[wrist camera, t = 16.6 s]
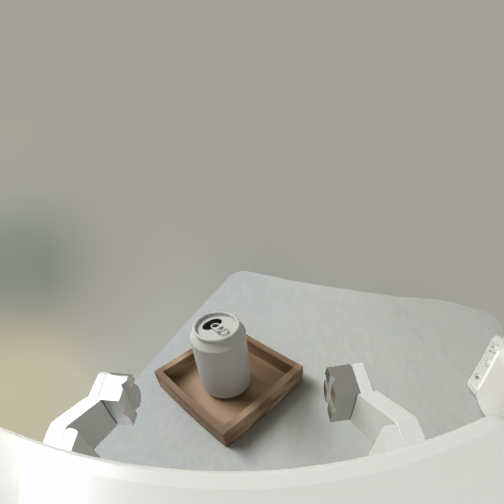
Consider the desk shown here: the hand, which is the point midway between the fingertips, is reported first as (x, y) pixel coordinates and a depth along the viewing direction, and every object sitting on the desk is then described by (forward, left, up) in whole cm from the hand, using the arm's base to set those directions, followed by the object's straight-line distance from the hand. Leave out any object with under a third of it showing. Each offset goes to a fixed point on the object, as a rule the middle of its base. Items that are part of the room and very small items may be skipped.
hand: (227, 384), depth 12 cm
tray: (-13, -19, -28) cm, 37 cm away
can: (-13, -19, -27) cm, 36 cm away
